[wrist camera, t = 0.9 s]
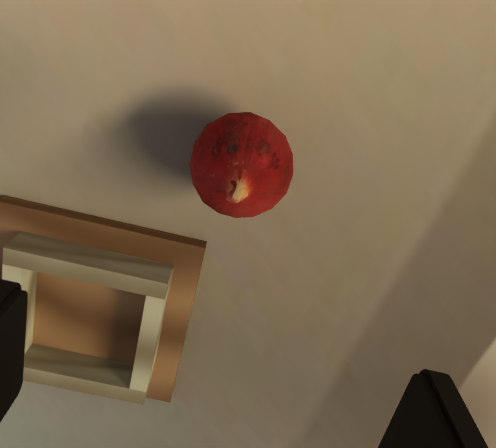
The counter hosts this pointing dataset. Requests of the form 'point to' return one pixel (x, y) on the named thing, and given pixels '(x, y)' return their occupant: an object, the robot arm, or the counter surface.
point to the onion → (241, 165)
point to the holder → (99, 299)
